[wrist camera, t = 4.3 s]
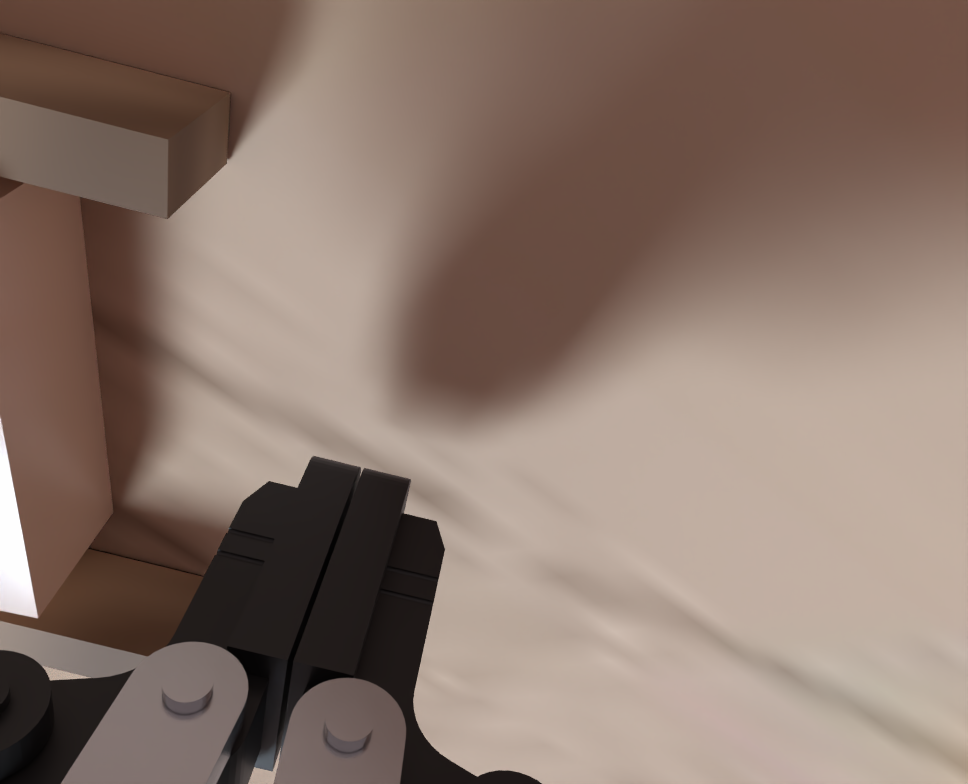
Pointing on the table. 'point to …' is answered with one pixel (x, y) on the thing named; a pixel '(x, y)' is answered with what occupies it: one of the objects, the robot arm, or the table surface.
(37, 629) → the wooden crate
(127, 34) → the table surface
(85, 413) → the pink flat slab
